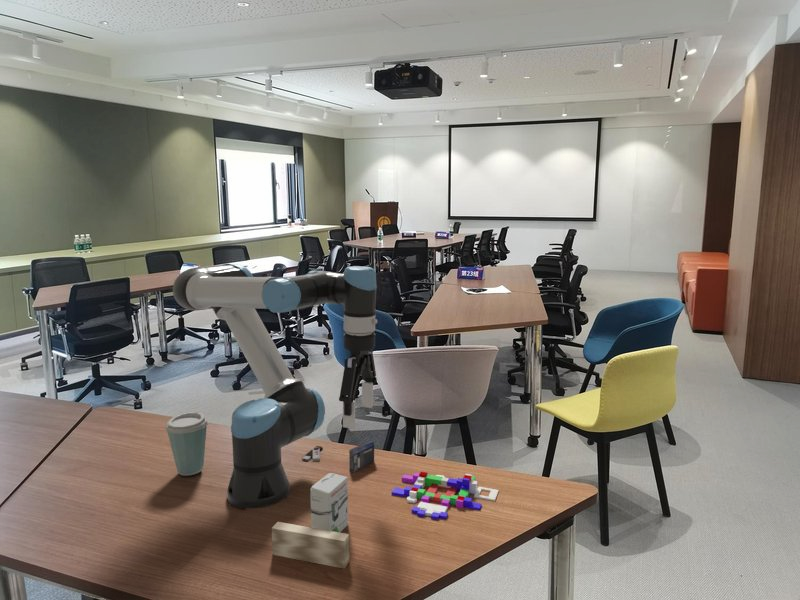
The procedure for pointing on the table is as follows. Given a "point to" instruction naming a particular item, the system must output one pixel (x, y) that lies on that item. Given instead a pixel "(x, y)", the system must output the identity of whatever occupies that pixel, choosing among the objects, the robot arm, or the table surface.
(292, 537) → the board
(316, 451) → the usb flash drive
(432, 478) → the building block set
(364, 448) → the mini dv tape
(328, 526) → the ink box
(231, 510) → the table surface
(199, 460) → the disposable coffee cup
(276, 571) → the table surface
